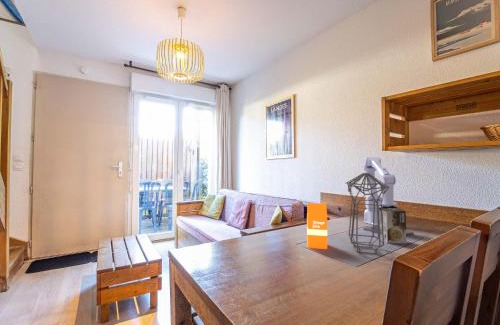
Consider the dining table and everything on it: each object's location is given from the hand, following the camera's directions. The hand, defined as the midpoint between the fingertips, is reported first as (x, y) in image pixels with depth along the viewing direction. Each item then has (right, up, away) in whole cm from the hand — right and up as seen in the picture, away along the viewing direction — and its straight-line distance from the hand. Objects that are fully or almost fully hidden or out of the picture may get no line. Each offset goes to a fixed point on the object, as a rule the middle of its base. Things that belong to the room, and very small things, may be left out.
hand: (387, 219), depth 137 cm
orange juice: (-48, -7, -25) cm, 55 cm away
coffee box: (-8, -7, -18) cm, 21 cm away
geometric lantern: (-28, -7, -32) cm, 43 cm away
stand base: (0, -7, 0) cm, 7 cm away
